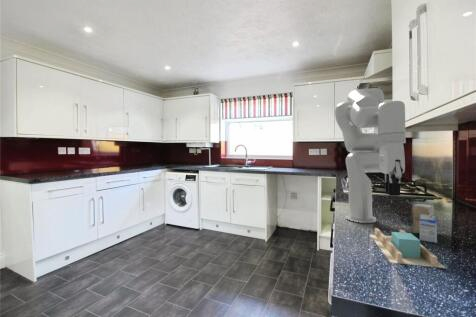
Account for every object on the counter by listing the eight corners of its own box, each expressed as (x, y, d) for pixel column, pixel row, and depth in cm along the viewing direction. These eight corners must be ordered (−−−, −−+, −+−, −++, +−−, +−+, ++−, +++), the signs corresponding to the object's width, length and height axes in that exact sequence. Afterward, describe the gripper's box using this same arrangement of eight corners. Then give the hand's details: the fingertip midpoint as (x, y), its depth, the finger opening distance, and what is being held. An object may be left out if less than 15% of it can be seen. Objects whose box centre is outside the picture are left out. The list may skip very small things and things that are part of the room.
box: (412, 233, 84) (412, 204, 84) (417, 231, 87) (417, 203, 87) (430, 237, 80) (429, 207, 80) (434, 235, 82) (434, 205, 82)
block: (391, 247, 69) (391, 231, 69) (411, 249, 67) (410, 233, 67) (399, 256, 63) (398, 238, 63) (420, 258, 62) (420, 240, 62)
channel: (369, 238, 81) (369, 227, 81) (408, 241, 77) (408, 229, 77) (390, 267, 60) (390, 252, 60) (445, 273, 56) (445, 258, 56)
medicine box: (419, 237, 81) (419, 213, 81) (436, 240, 78) (435, 215, 78) (419, 244, 75) (419, 218, 75) (437, 247, 72) (436, 220, 72)
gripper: (372, 141, 83) (373, 190, 83) (386, 138, 67) (387, 198, 68) (395, 140, 80) (396, 191, 81) (416, 137, 65) (417, 199, 65)
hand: (392, 194), depth 74 cm, fingers closed
